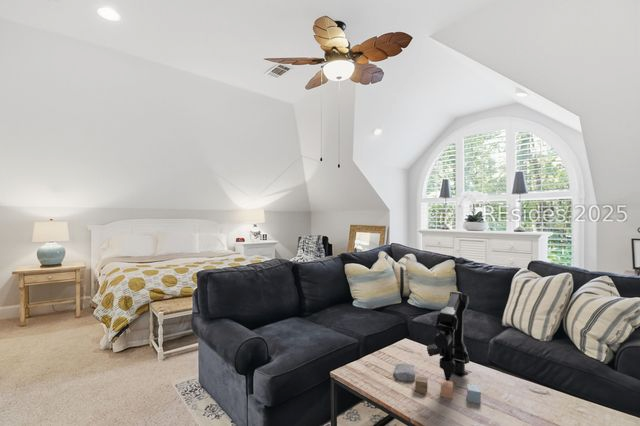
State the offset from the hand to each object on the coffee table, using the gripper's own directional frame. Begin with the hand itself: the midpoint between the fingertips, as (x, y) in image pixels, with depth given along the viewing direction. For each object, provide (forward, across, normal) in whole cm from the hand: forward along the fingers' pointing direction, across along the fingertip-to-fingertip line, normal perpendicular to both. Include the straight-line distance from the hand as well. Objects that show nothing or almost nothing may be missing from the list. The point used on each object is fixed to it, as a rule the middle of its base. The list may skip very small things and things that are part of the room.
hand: (447, 375), depth 146 cm
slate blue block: (+8, 0, +11) cm, 14 cm away
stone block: (+9, -11, -20) cm, 24 cm away
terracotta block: (+8, 0, 0) cm, 9 cm away
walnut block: (+8, 0, -11) cm, 14 cm away
